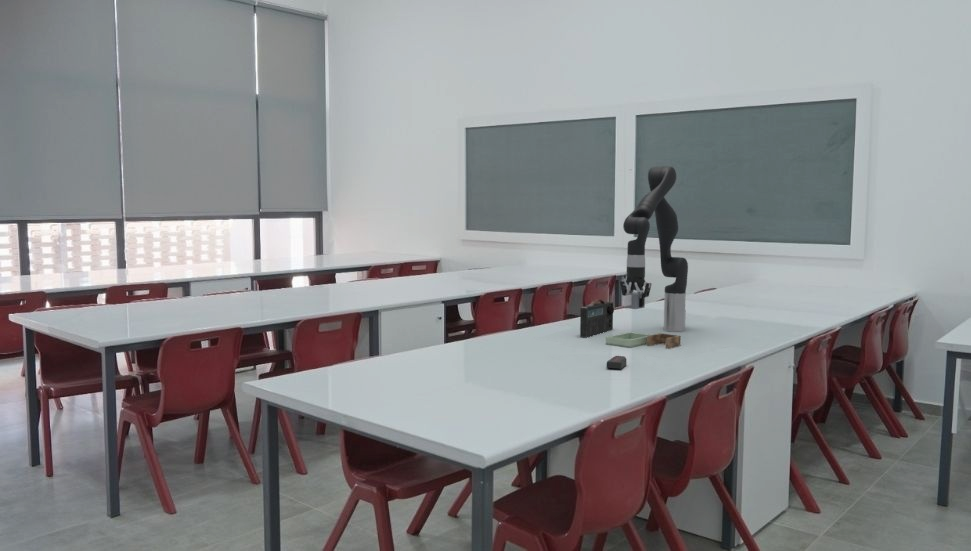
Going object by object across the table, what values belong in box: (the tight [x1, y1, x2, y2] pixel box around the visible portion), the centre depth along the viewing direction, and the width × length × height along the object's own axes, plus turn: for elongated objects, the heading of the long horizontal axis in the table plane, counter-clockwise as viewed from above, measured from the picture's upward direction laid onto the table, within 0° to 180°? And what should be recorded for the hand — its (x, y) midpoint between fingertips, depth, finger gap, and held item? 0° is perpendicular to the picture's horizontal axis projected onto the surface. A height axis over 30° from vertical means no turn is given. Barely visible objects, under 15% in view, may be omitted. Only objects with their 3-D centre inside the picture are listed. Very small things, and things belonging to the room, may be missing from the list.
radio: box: [579, 286, 615, 339], centre depth 351 cm, size 25×4×20 cm, turn 145°
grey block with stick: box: [621, 291, 646, 310], centre depth 325 cm, size 12×5×6 cm, turn 138°
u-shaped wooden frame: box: [646, 333, 682, 349], centre depth 321 cm, size 10×10×4 cm
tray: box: [605, 331, 651, 349], centre depth 326 cm, size 18×12×3 cm, turn 137°
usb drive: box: [606, 355, 627, 370], centre depth 282 cm, size 5×12×3 cm, turn 158°
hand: (635, 306), depth 327 cm, fingers closed on grey block with stick, 5 cm apart
